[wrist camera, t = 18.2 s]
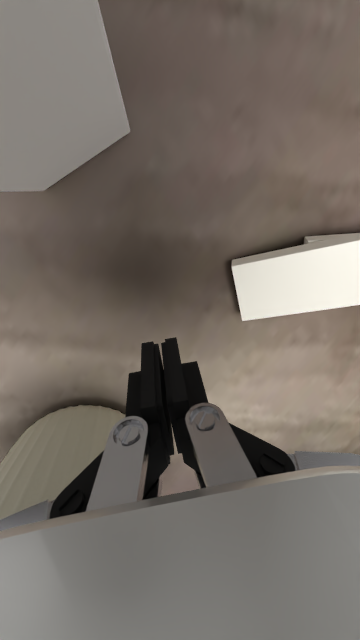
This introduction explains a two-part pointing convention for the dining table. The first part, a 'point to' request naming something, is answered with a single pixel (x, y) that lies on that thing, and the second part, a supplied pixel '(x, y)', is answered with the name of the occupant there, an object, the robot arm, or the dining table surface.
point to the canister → (53, 455)
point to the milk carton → (54, 91)
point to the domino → (299, 278)
